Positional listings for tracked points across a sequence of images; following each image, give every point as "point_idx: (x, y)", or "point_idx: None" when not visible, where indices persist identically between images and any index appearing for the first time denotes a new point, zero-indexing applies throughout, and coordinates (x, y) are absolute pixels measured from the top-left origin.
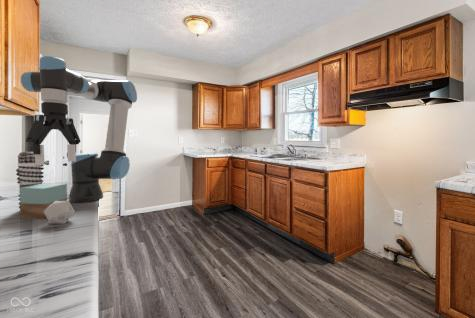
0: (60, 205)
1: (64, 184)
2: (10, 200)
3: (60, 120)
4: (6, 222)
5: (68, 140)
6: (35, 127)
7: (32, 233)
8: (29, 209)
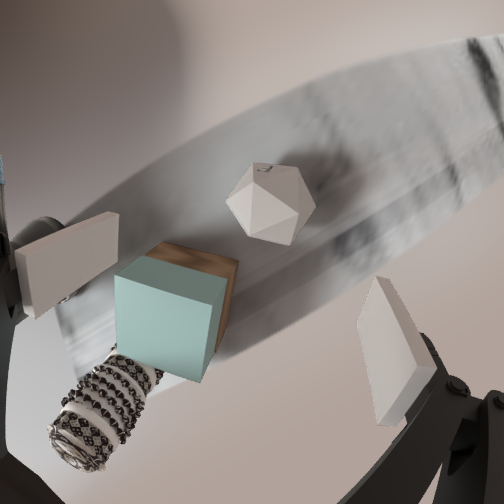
0: (289, 192)
1: (123, 277)
2: None
3: None
4: (261, 337)
5: (8, 324)
6: None
7: (364, 219)
8: (224, 317)
